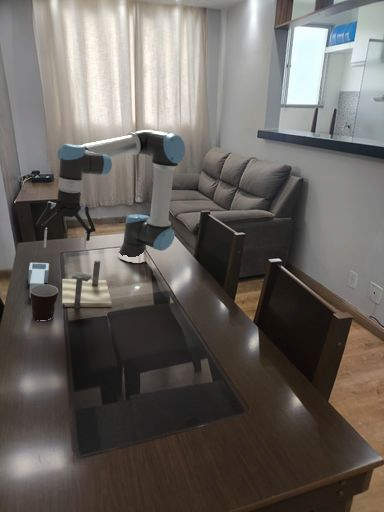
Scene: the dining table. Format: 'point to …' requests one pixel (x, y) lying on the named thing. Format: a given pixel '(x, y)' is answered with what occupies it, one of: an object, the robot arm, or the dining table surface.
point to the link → (38, 274)
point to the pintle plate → (86, 290)
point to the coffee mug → (43, 301)
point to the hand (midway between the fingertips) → (64, 247)
